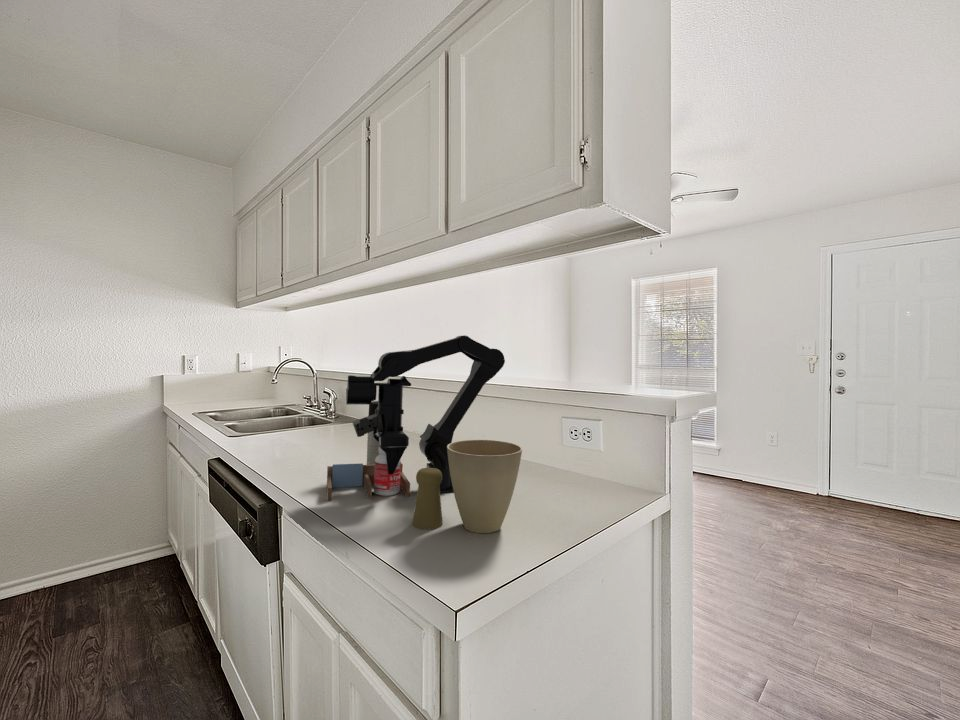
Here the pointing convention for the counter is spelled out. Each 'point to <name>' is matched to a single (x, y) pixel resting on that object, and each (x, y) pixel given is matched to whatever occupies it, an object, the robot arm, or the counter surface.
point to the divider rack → (357, 478)
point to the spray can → (372, 439)
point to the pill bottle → (385, 476)
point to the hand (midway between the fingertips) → (387, 469)
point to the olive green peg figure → (428, 499)
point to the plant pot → (483, 481)
